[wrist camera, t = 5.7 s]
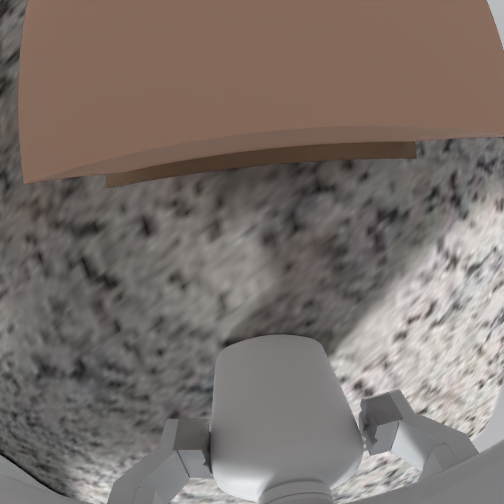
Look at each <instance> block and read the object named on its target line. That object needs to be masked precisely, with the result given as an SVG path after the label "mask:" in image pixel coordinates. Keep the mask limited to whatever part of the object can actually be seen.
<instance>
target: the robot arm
mask: <svg viewBox="0 0 504 504" xmlns="http://www.w3.org/2000/svg"><path fill="white" fill-rule="evenodd" d="M360 406H361V409H362V411H361V412H360V413H359V419H358V421H359V428H360V432H361V434H362V436H364V437H366V443H365V444H366V447H367V449H368V451H369V454H370V456H371V455H375V454H379V453H383V452H386V451H390V450H391V452H393V453H394V454H395V455H397V456H398V457H400V458H401V459H403V460H404V461H406V462H407V463H409V464H410V465H412V466H413V467H415V468H416V469H418V470H419V471H421V472H422V473H421V475H420V477H419V479H418V480H417V482H415V483H412V484H409V485H407V486H404V487H401V488H398V489H395V490H392V491H389V492H386V493H382V494H379V495H376V496H372V497H369V498H365V499H361V500H357V501H353V502H349V503H345V504H504V439H503V440H502V441H500V442H499V443H497V444H495V445H493V446H492V447H490V448H488V449H486V450H484V451H483V452H481V453H479V452H478V451H477V449H476V448H475V447H474V445H473V444H472V442H471V441H470V439H469V438H468V436H467V435H466V434H465V433H463V432H460V431H458V430H455V429H453V428H451V427H448V426H446V425H443V424H441V423H439V422H436V421H434V420H432V419H430V418H427V417H425V416H423V415H420V414H418V415H416V414H415V412H414V411H413V409H412V408H411V406H410V405H409V403H408V402H407V400H406V398H405V397H404V395H403V394H402V392H401V391H400V390H399V389H397V390H394V391H390V392H387V393H382V394H379V395H375V396H371V397H367V398H363V399H362V400H361V404H360ZM210 446H211V432H209V423H208V420H207V419H167V420H166V422H165V426H164V429H163V433H162V437H161V441H160V445H159V449H158V450H154V451H152V452H151V453H150V454H149V455H148V456H146V457H145V458H144V459H143V460H141V461H140V462H139V463H138V464H137V465H135V466H134V467H133V468H132V469H130V470H129V471H128V472H126V473H125V474H124V475H123V476H121V477H120V478H119V479H118V480H116V481H115V482H114V484H113V487H112V490H111V493H110V497H109V500H108V503H107V504H169V503H170V501H171V500H172V499H173V498H174V497H175V496H176V495H177V493H178V492H179V491H180V490H181V489H182V488H183V486H184V485H185V484H186V483H187V482H188V480H189V479H190V478H204V477H212V470H211V466H210ZM0 504H92V503H88V502H84V501H80V500H77V499H73V498H70V497H66V496H63V495H59V494H58V493H56V492H54V491H52V490H50V489H48V488H47V487H45V486H43V485H42V484H40V483H39V482H37V481H36V480H35V479H33V478H32V477H31V476H30V475H28V474H27V473H25V472H24V471H23V470H21V469H20V468H19V467H17V466H16V465H14V464H13V463H11V462H10V461H9V460H7V459H6V458H4V457H3V456H1V455H0Z"/></svg>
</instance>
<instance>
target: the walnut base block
mask: <svg viewBox="0 0 504 504" xmlns="http://www.w3.org/2000/svg"><path fill="white" fill-rule="evenodd" d="M393 158H415V159H417V158H416V145H415V141H413V142H365V143H340V144H322V145H308V146H296V147H284V148H274V149H264V150H255V151H247V152H239V153H231V154H224V155H217V156H210V157H204V158H197V159H191V160H185V161H179V162H174V163H168V164H163V165H157V166H152V167H147V168H142V169H138V170H133V171H128V172H121V173H109V174H106V181H107V188H111V187H116V186H122V185H127V184H132V183H138V182H143V181H149V180H155V179H161V178H167V177H174V176H180V175H187V174H194V173H201V172H209V171H217V170H225V169H233V168H242V167H252V166H262V165H272V164H284V163H297V162H311V161H328V160H350V159H393Z"/></svg>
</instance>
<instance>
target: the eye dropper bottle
mask: <svg viewBox="0 0 504 504" xmlns="http://www.w3.org/2000/svg"><path fill="white" fill-rule="evenodd" d="M363 449H364V444H363V440H362V437H361V433H360V431H359V428H358V426H357V423H356V421H355V418H354V416H353V414H352V411H351V409H350V407H349V404H348V402H347V400H346V397H345V395H344V393H343V391H342V388H341V386H340V384H339V382H338V379H337V377H336V375H335V373H334V371H333V368H332V366H331V364H330V362H329V360H328V357H327V355H326V353H325V351H324V349H323V347H322V345H321V344H320V343H319V342H318V341H316V340H314V339H311V338H308V337H303V336H297V335H284V334H278V335H265V336H259V337H254V338H250V339H246V340H243V341H240V342H237V343H235V344H232V345H230V346H228V347H226V348H224V349H222V350H221V351H220V352H219V353H218V355H217V358H216V364H215V376H214V389H213V402H212V417H211V446H210V466H211V470H212V474H213V477H214V479H215V482H216V484H217V485H218V487H219V488H221V489H222V490H223V491H224V492H226V493H228V494H230V495H233V496H235V497H238V498H242V499H246V500H250V501H255V502H258V504H334V501H333V498H332V494H331V491H330V490H332V489H334V488H335V487H337V486H339V485H341V484H342V483H344V482H345V481H347V480H348V479H349V478H351V477H352V476H353V474H354V473H355V472H356V471H357V469H358V467H359V465H360V463H361V459H362V455H363Z"/></svg>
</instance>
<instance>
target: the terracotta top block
mask: <svg viewBox="0 0 504 504" xmlns="http://www.w3.org/2000/svg"><path fill="white" fill-rule="evenodd" d="M18 128H19V145H20V157H21V167H22V175H23V183H24V184H28V183H35V182H41V181H48V180H56V179H64V178H72V177H80V176H89V175H99V174H109V173H121V172H128V171H133V170H138V169H142V168H147V167H152V166H157V165H163V164H168V163H174V162H179V161H185V160H191V159H197V158H204V157H210V156H217V155H224V154H231V153H239V152H247V151H255V150H264V149H274V148H284V147H296V146H308V145H322V144H340V143H365V142H413V141H424V140H438V139H453V138H473V137H504V51H503V47H502V43H501V40H500V37H499V34H498V31H497V28H496V25H495V22H494V19H493V16H492V13H491V11H490V8H489V5H488V3H487V1H486V0H27V5H26V11H25V17H24V23H23V30H22V38H21V48H20V59H19V76H18Z"/></svg>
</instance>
